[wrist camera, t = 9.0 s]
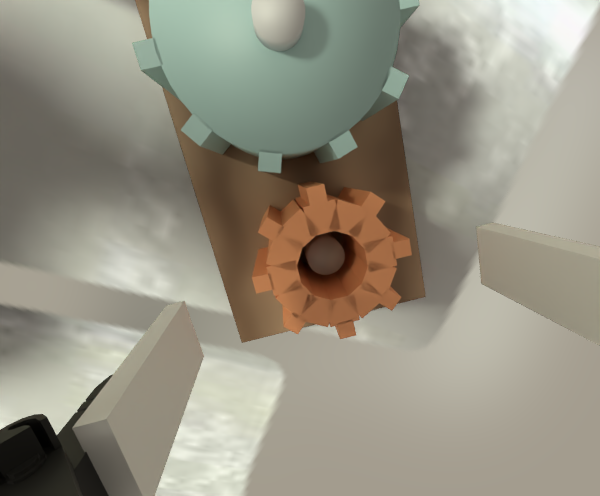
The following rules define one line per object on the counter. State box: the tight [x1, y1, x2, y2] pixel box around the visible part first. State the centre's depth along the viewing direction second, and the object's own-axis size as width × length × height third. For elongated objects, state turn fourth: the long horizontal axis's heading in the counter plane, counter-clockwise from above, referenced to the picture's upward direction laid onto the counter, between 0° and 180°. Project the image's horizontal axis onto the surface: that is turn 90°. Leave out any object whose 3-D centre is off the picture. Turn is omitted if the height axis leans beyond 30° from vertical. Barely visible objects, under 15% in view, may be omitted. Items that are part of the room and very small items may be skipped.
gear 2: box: [252, 181, 412, 339], centre depth 21 cm, size 9×9×7 cm
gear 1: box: [132, 0, 419, 173], centre depth 18 cm, size 14×14×8 cm
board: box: [135, 0, 426, 343], centre depth 22 cm, size 16×27×7 cm, turn 13°
